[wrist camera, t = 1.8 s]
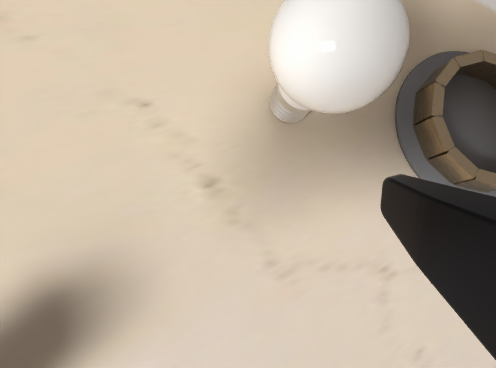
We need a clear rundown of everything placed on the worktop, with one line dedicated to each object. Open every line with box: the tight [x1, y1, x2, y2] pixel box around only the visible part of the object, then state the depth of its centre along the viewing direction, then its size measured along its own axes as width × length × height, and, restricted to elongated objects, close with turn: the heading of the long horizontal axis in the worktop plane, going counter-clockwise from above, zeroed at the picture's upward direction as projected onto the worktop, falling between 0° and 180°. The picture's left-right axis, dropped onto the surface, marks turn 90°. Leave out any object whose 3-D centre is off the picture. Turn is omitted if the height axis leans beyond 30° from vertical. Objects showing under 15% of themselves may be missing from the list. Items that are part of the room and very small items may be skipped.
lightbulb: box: [268, 0, 410, 123], centre depth 20 cm, size 6×6×11 cm
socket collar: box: [413, 50, 496, 192], centre depth 26 cm, size 10×10×2 cm
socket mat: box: [395, 51, 496, 197], centre depth 27 cm, size 12×12×1 cm
